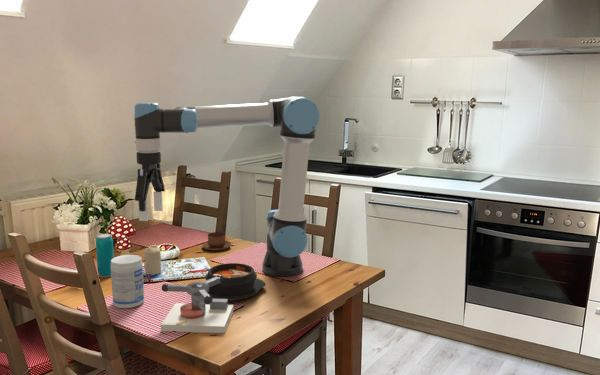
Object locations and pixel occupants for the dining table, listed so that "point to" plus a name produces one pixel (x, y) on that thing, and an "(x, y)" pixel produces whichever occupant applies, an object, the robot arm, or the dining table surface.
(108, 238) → the beverage can
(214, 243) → the cup and saucer
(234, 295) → the casserole
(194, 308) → the capstan
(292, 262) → the robot arm
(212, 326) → the stand
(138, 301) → the supplement tub
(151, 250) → the candle
